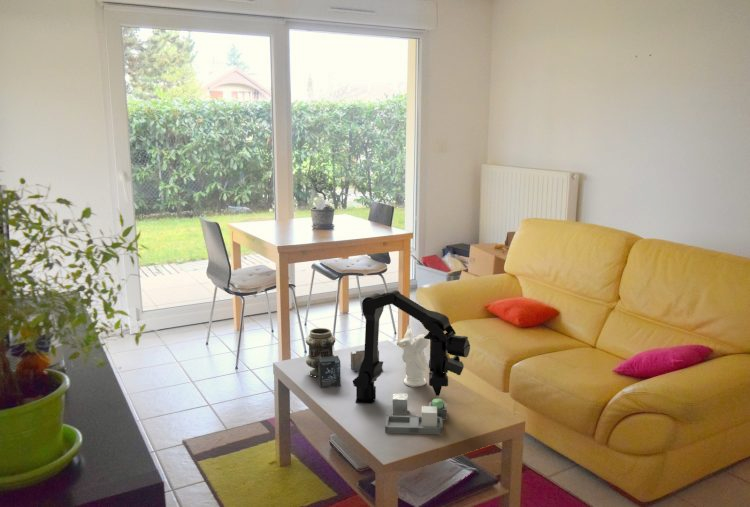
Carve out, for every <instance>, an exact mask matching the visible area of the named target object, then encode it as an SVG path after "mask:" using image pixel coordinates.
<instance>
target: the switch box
mask: <svg viewBox="0 0 750 507" xmlns="http://www.w3.org/2000/svg"><path fill="white" fill-rule="evenodd" d="M428 406H432V401H428ZM447 408H448V407H447V402H446V401H445V402H444V401H443V409H437V417H442V420H447V419H448V418H447V417H448V409H447Z"/></svg>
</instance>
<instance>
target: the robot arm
mask: <svg viewBox="0 0 750 507" xmlns="http://www.w3.org/2000/svg"><path fill="white" fill-rule="evenodd" d="M389 305H392V306H394V307H396V308H397V309H399V310H401V311H402V312H404V313H405V314H407V315H408V316H410V317H412V318H414V320H417V321H418V322H420V323H421V325H422V327H423V328H424V329H425V330H427V331H428V332H427V334H425V335H426V336H425V337H424V338H425V339H429V360H428V369H429V373H428V386H430V387H432V389H433V392H434V394H435V396H436V397H440V395H441V391H442V388H443V387H448V386H449V377H448V375H447V374H448V373H449V372H451V373H453V374H456V375H457V376H461V374H462V372H463V370H464V367H465V366H464V363H463V361H462V360H461V359H460V357H462V358H468V356H469V354H470V351H471V344H470V340H469V337H468V336H465V335H457V333H456V331H455V329H454V328H453V326H452V325H451V323H450V318H449V317H448V316H447V315H445V314H443V313H440V312H438V311H433V310H429V309H427V308H425V307H424V306H421V305H420V304H419V303H417V302H415V301H414V300H412V299H410V298H409V297H407V296H406V295H403V294H402V293H401V292H400V291H398V290H392V291H389V292H385V293H381V294H380V293H379V292H376V293H372V294H370V295H369V296H366V297H365V298H364V299H363V300H362V301H361V310H362V315H363V317H364V318H365V329H364V330H365V332H364V334H365V335H364V350H365V351H364V359H363V361H362V364H361V366H360V370H358V375H357V376H356V377H355V378H354V379H353V380H352V383H353V384H352V385H353V387H356V399H355V403H356V404H357V403H358V404H359V403H360V404H363V403H364V404H374V402H375V400H376V397H377V386H376V385H375V382H376V381H377V379H379V377H380V376H381V375H382V373H383V372H384V370H383V366H384V362H383V361H380V358H379V359H378V356H377V355H378V350H379V333H380V319H381V316H382V314H383V312H384V308H385V307H386V306H389ZM448 355H451V356H453V357H451V358H450V357H449V356H448ZM460 360H461V361H460Z"/></svg>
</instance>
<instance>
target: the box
mask: <svg viewBox="0 0 750 507" xmlns="http://www.w3.org/2000/svg"><path fill="white" fill-rule="evenodd" d="M318 368H319V378H318V384H320V385H319V387H320V388H321V387H323V388H329V387H328V386H334V387H341V360H340V358H339V355H334V356H330V357H318Z"/></svg>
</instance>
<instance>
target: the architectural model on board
mask: <svg viewBox="0 0 750 507" xmlns="http://www.w3.org/2000/svg"><path fill="white" fill-rule="evenodd" d="M364 351H365V349H363V350H355V353H353V352H352V351H350V369H351V371H352V370H356V371H359V370H360V366H361V364H362V361H363V359H364ZM377 356H378V359H379V360H380V350H379V349H378V355H377Z"/></svg>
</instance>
